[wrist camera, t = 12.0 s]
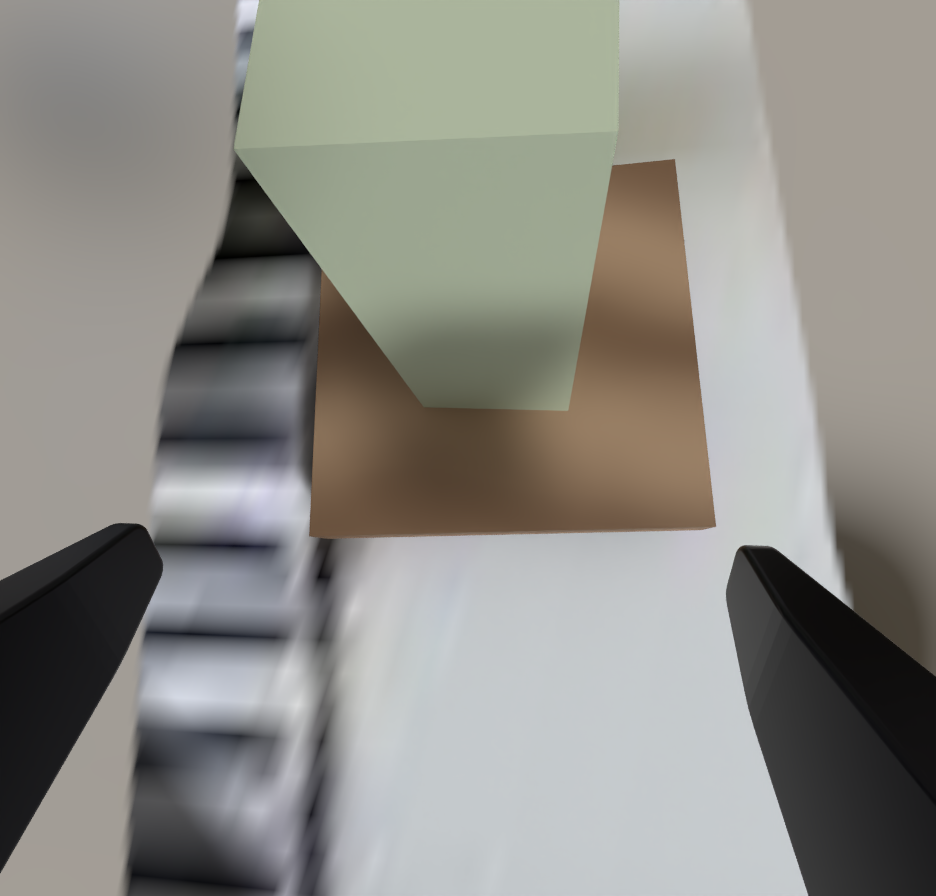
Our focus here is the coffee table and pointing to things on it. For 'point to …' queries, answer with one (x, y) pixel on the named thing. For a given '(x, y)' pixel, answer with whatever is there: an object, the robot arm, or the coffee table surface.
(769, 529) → the coffee table surface
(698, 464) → the tan square board
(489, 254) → the sage block
